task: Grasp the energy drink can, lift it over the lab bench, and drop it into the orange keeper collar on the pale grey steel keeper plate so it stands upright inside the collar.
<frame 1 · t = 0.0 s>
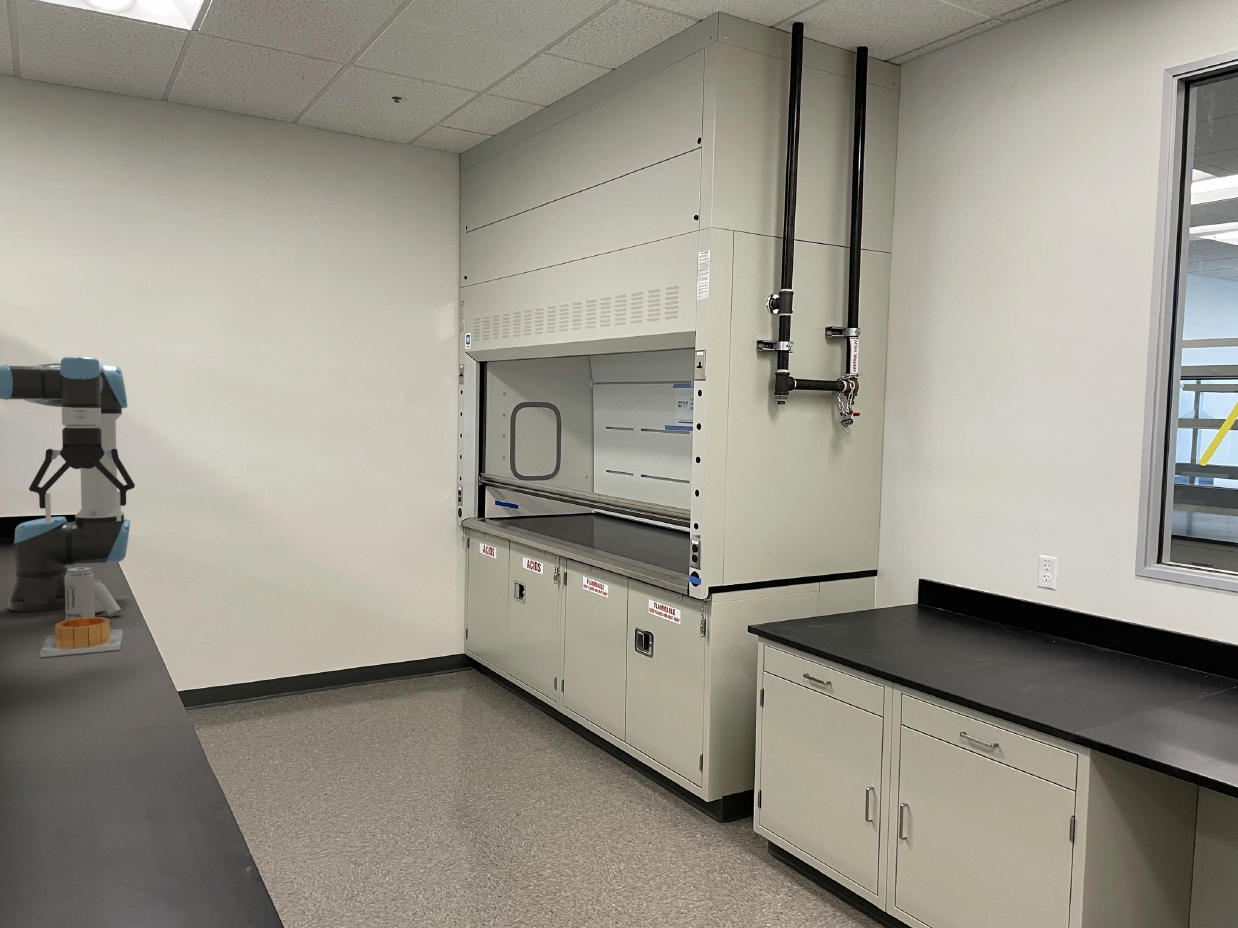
hand: (84, 522, 203), 28 cm above the worktop, fingers open, 13 cm apart
wall hook: (99, 616, 233), on the worktop
keeper: (83, 645, 205), on the worktop
energy drink can: (80, 631, 217), on the worktop
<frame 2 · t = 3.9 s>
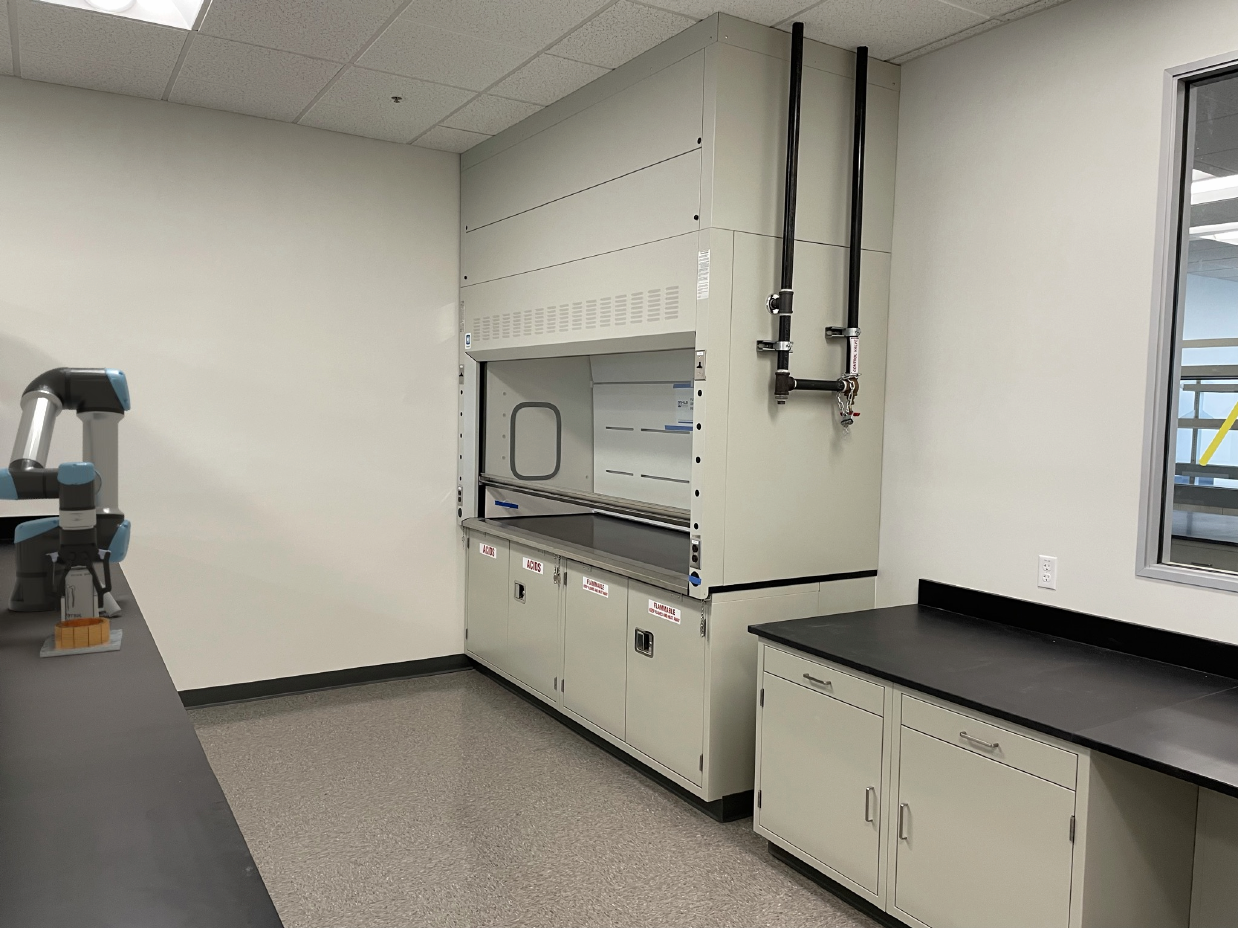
hand: (80, 622, 217), 2 cm above the worktop, fingers closed on energy drink can, 6 cm apart
energy drink can: (80, 631, 217), on the worktop, touching gripper
everything else where it was.
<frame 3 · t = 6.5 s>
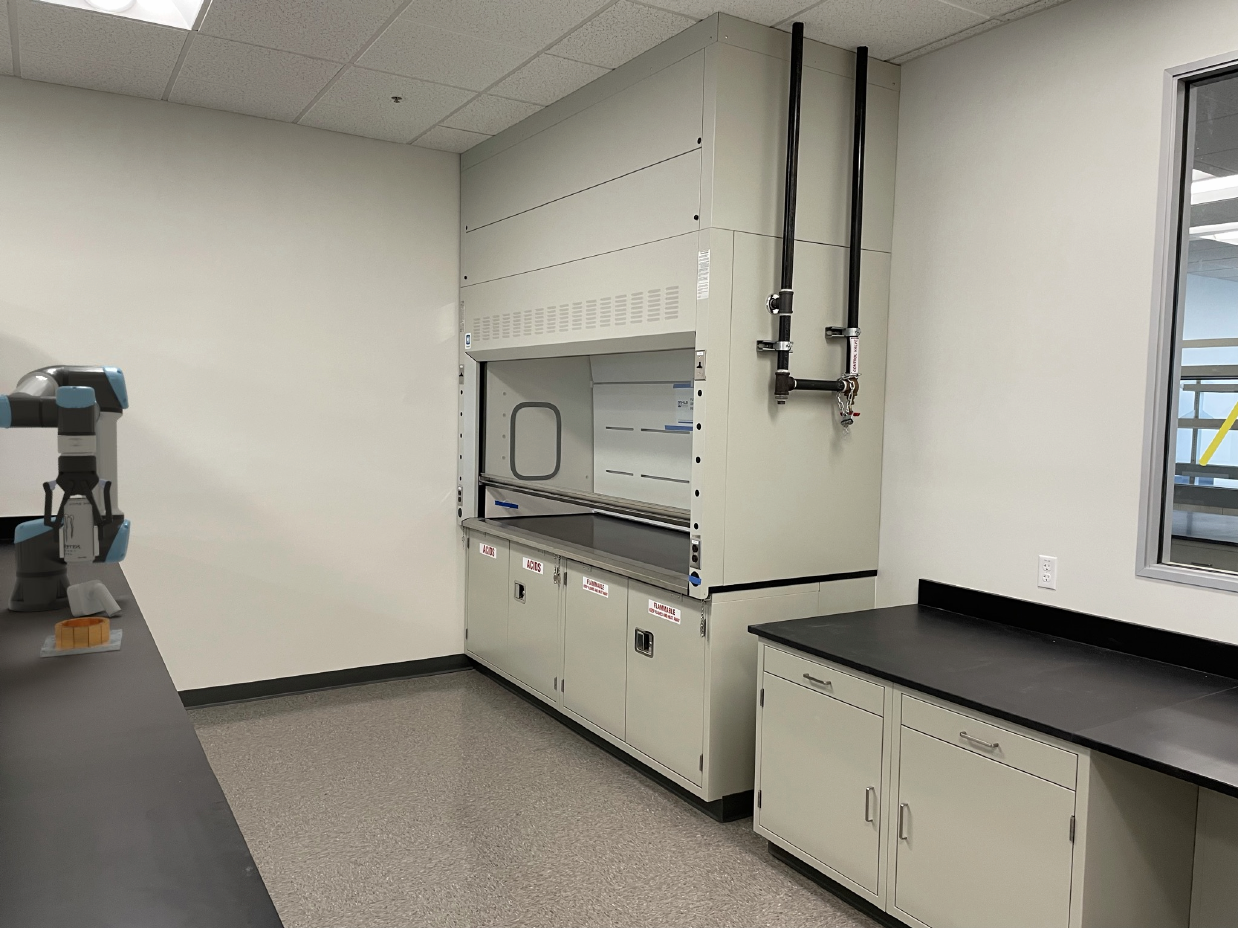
hand: (79, 555, 207), 20 cm above the worktop, fingers closed on energy drink can, 6 cm apart
energy drink can: (79, 564, 207), point 18 cm above the worktop, touching gripper
everything else where it was.
when the fingers open (8 cm above the worktop, at t = 9.1 s): energy drink can drops 5 cm, resting on keeper.
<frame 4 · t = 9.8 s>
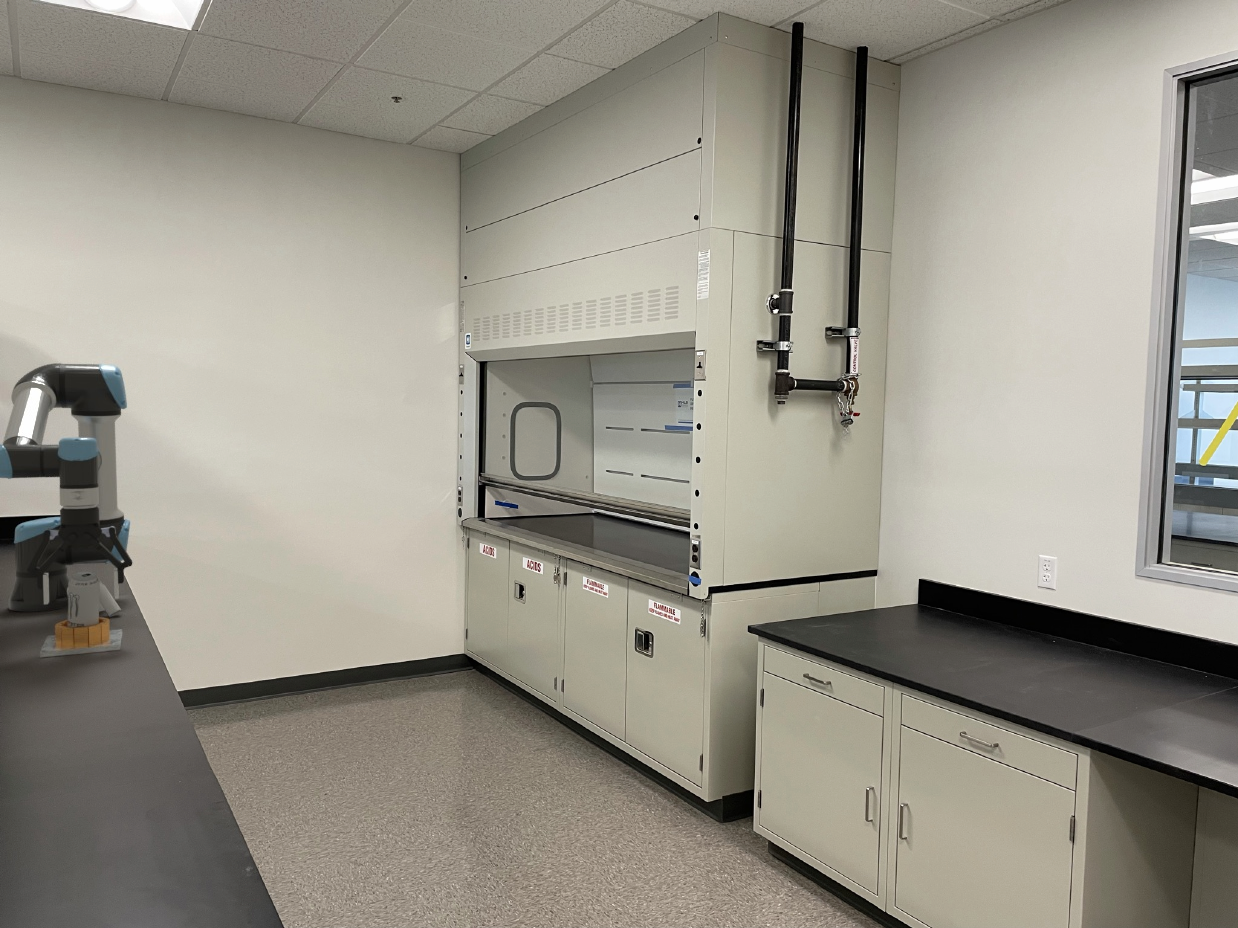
hand: (82, 600, 204), 10 cm above the worktop, fingers open, 13 cm apart
energy drink can: (83, 638, 204), point 2 cm above the worktop, touching keeper
everything else where it was.
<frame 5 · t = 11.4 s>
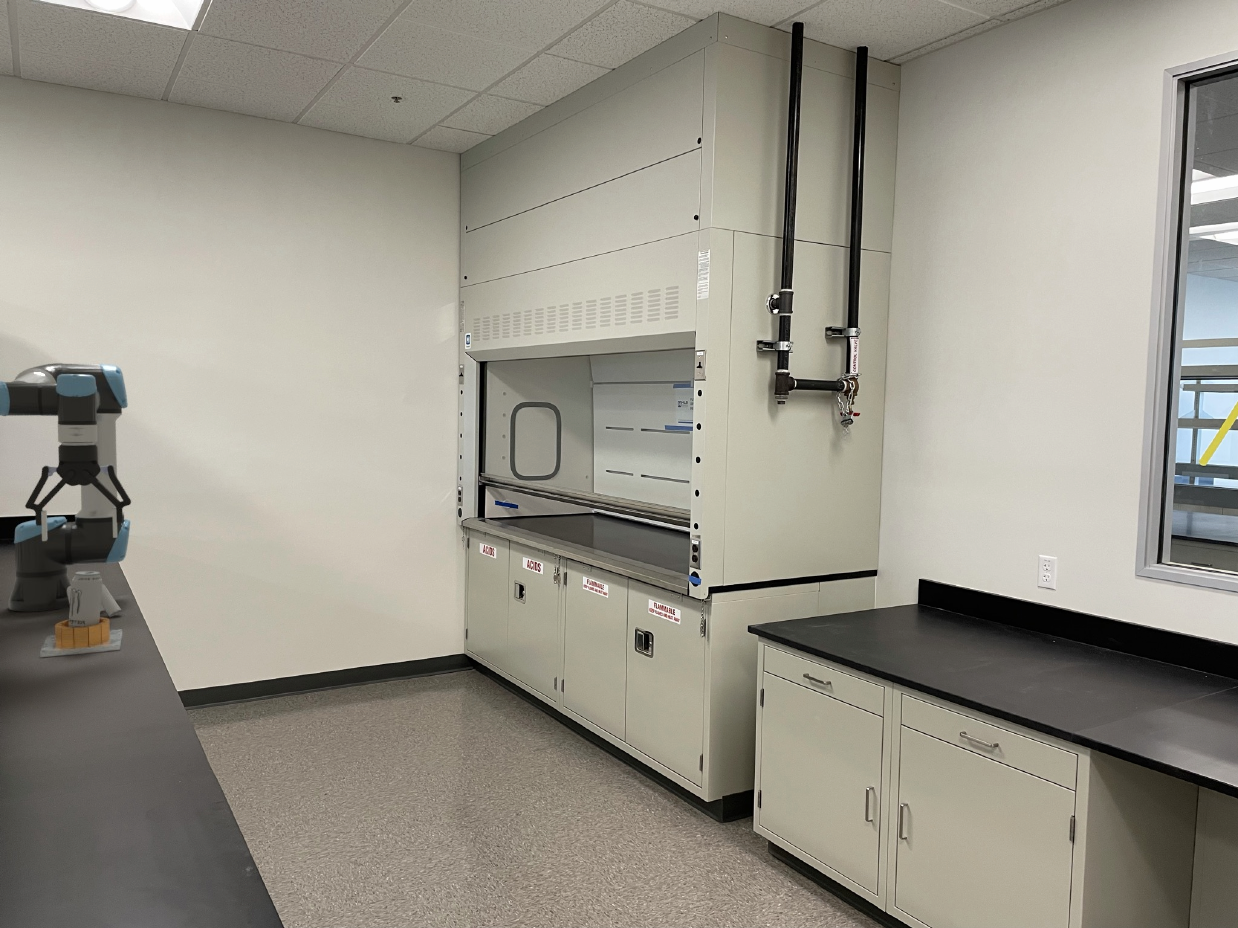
hand: (80, 538, 203), 24 cm above the worktop, fingers open, 13 cm apart
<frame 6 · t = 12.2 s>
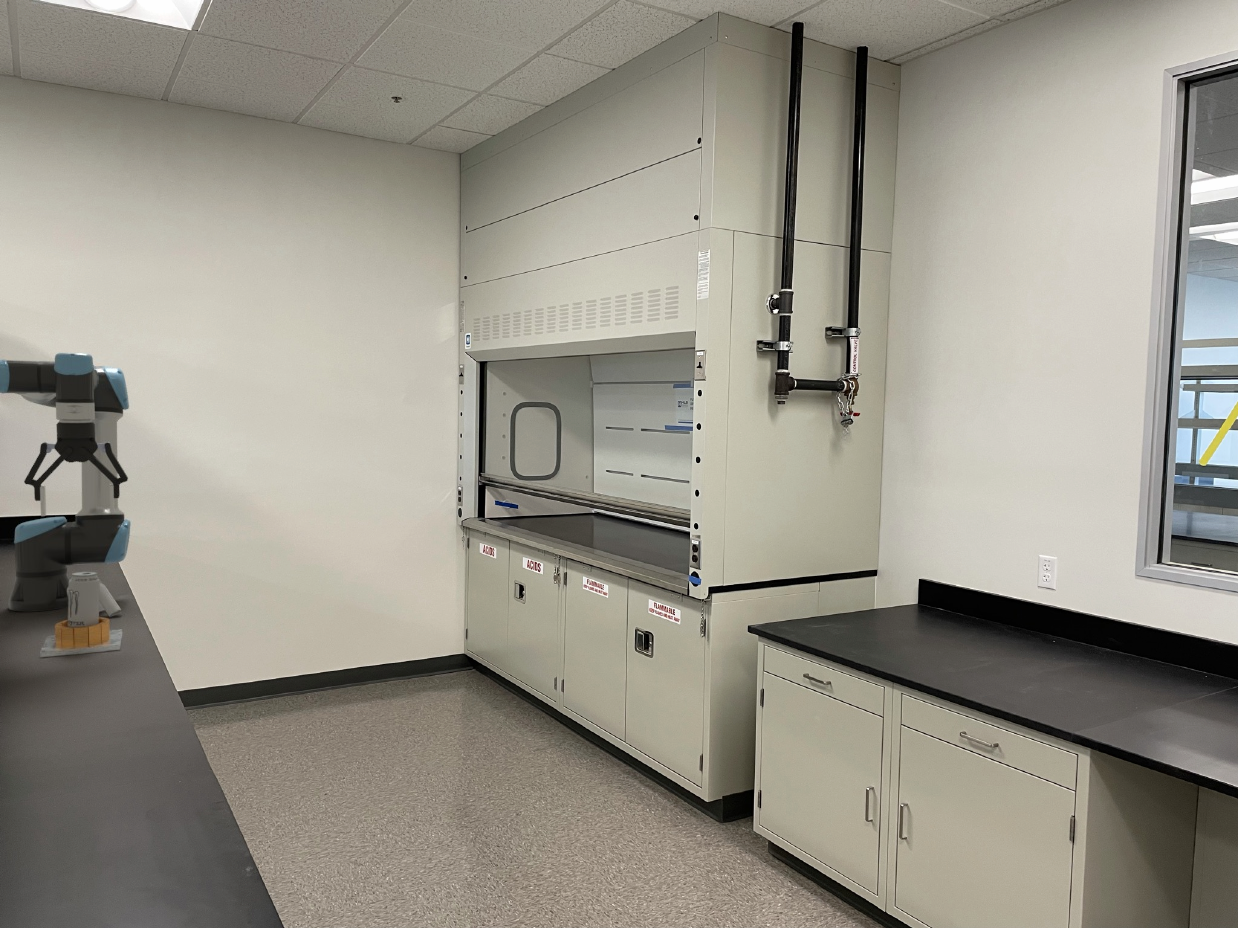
hand: (78, 513, 208), 29 cm above the worktop, fingers open, 13 cm apart
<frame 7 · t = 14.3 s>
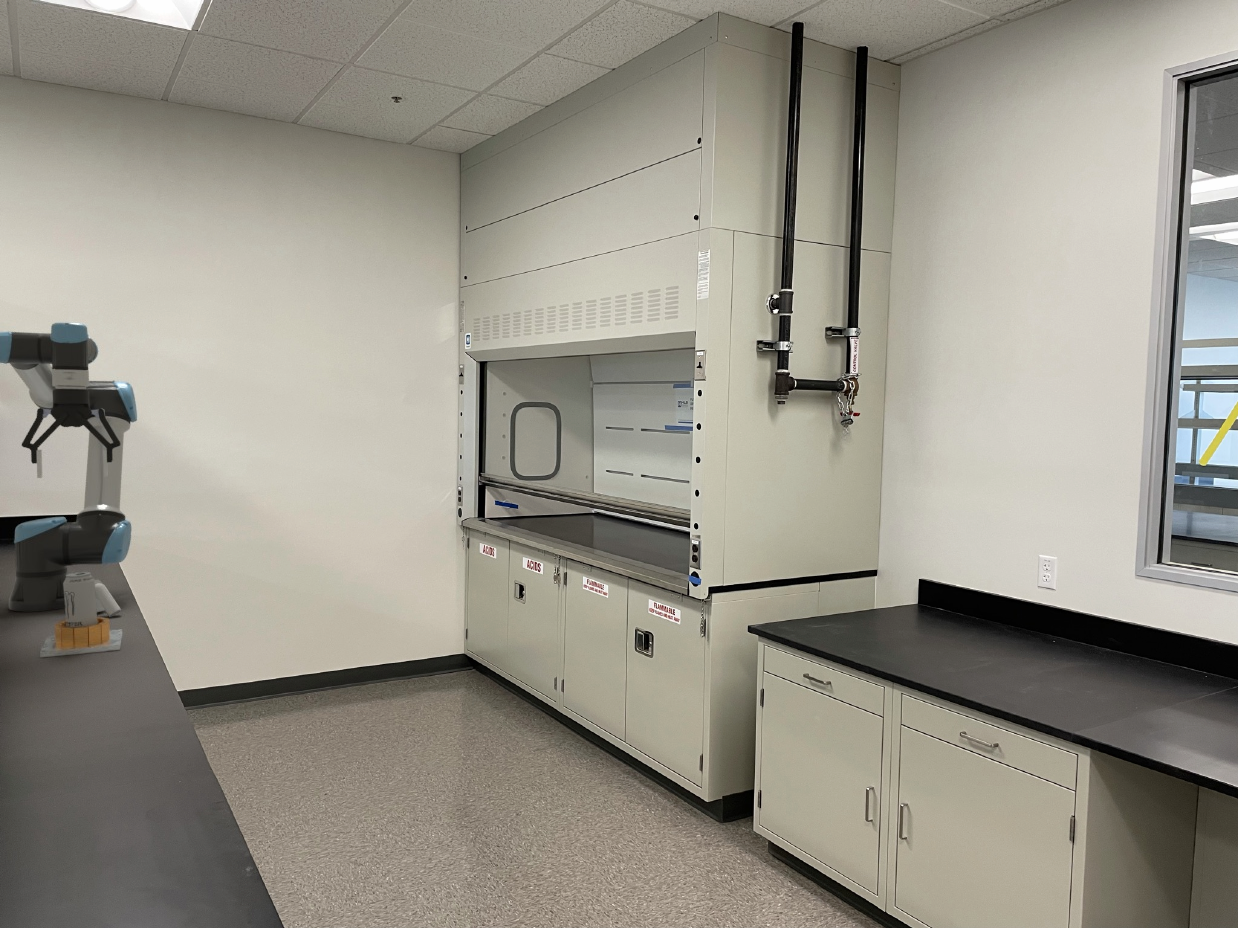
hand: (73, 476, 218), 37 cm above the worktop, fingers open, 13 cm apart
at the end: energy drink can 0.0 cm from the keeper (horizontally); energy drink can point 1.1 cm above the worktop; energy drink can tilted 2° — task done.
